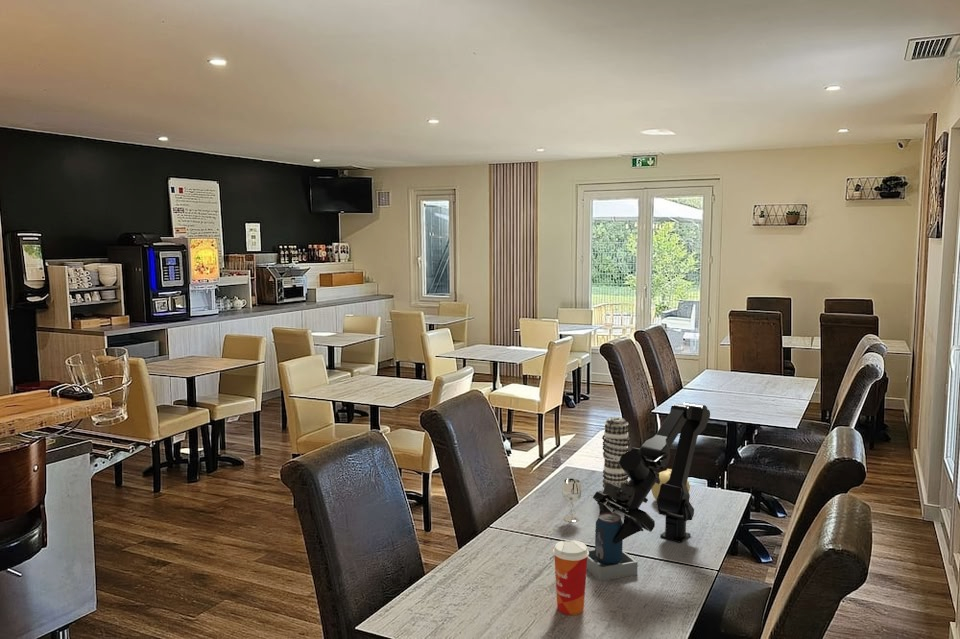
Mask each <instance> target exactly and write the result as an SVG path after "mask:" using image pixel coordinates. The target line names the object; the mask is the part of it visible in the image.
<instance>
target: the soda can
mask: <svg viewBox="0 0 960 639" xmlns="http://www.w3.org/2000/svg"><path fill="white" fill-rule="evenodd" d="M622 524H623V521H622V517H621V515H620V514H617V513H614V512H612V513H601V514H599V513H598V516H597V519H596V520H595V530H596V532H595V536H594V537H595V538H594V539H595V540H594V542H595V544H594V549H595V557H596V559H597V561H598V562H599V563H600V564H602V565H605V566H611V565H616V564H619V562H620V561H621V559H622V550H623V543H624V542H623V540H624V539H623V540H622V541H620V542H618V543H616V544H615V543H614V542H613V540H614V537H615V536H616V534H617V532H618V531H619V529H620V527H621V526H622Z"/></svg>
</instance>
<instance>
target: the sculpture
mask: <svg viewBox="0 0 960 639" xmlns="http://www.w3.org/2000/svg"><path fill="white" fill-rule="evenodd" d="M671 470H672V468H666V470H663V471H660V472H658V473H659V479H660V484H657V483H655V484H654V486H653V487H652V489H651V493H652V494H651V495H652V497H653V498H654V500H655V501H656V502H657V497H658V494H659V492H660V486H661V485H662V483H664V484H665V483H666V482H667V481H668V480H669V479H670V475H671ZM686 485H687V488H688V491H689V492H690V488H691V485H690V481H689V480H687V484H686Z"/></svg>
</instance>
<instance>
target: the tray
mask: <svg viewBox="0 0 960 639" xmlns="http://www.w3.org/2000/svg"><path fill="white" fill-rule="evenodd" d="M587 550H588V551H589V555H588V556H587V568H586V571H587V570H588V572H589V573H591V574H592V576H594V577H595V578H596V579H597V580H598V581H600V582H603V581H609V580H614V579H620V578H625V577H630V576H635V575H638V562H639V561H637V560H636V559H634V558H633V557H632V556H631V555H629V554H628V553H627V552H625V551H624V550H623V549H622V559H621V561H620V562H619V564H616V565H611V566H605V565H602V564H600V563H599V562H598V561H597V559H596V557H595V548H593V549H592V548H591V549H587Z"/></svg>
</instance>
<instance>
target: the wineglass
mask: <svg viewBox="0 0 960 639" xmlns="http://www.w3.org/2000/svg"><path fill="white" fill-rule="evenodd" d="M580 482H581V481H580V480H579V479H577V478H565V479H564V480H563V484H562V487H561V488H562V490H561V494H562V497H563V499H564V500H565V501H567V502H570V503H569V507H570V515H567V516H565V517H563V520H564V521H565V522H568V521H569V523H576V522H579V520H580V519H579V517H577V516H574V515H573V508H574V502H577V501H578V500H580V499H581V497H582V486H581V483H580Z"/></svg>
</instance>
